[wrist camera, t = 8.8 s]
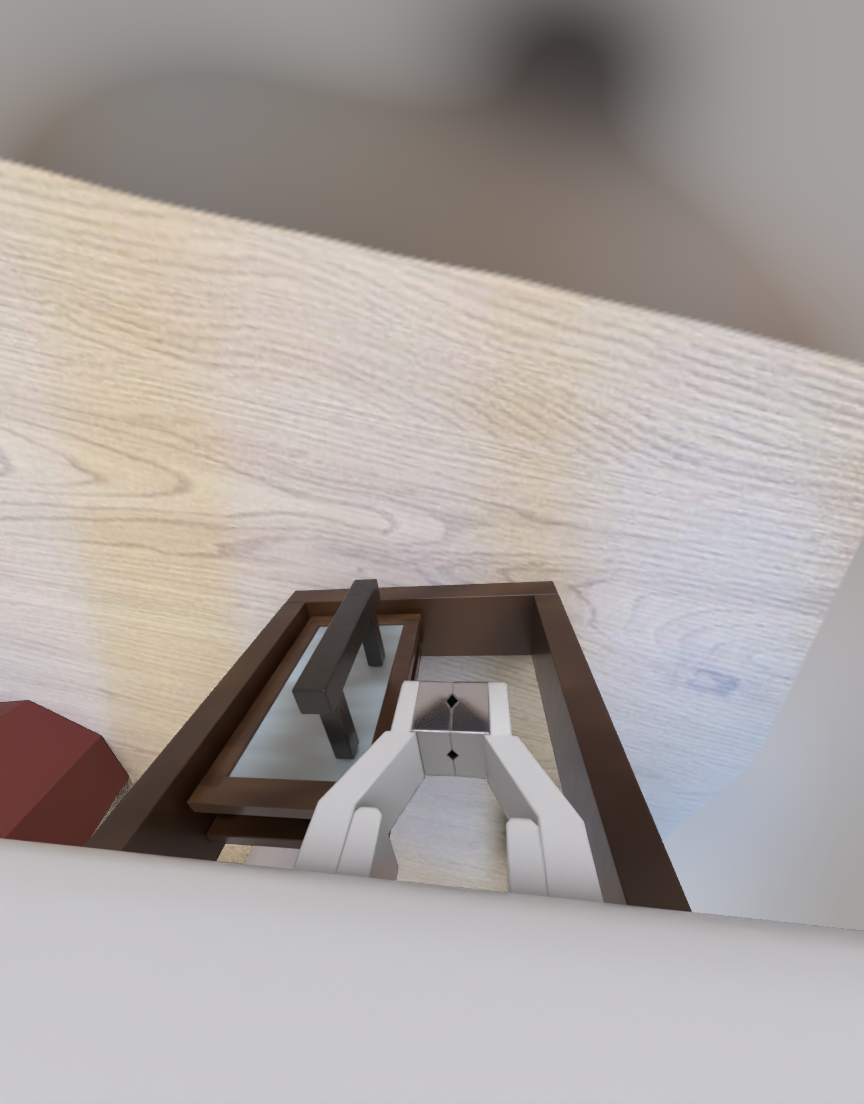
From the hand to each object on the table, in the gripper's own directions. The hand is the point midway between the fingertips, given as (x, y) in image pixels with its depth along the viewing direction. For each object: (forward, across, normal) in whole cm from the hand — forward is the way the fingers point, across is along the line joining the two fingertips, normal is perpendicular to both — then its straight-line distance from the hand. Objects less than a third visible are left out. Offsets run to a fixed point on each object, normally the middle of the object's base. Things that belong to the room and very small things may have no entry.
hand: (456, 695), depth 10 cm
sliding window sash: (+10, +7, +3) cm, 13 cm away
